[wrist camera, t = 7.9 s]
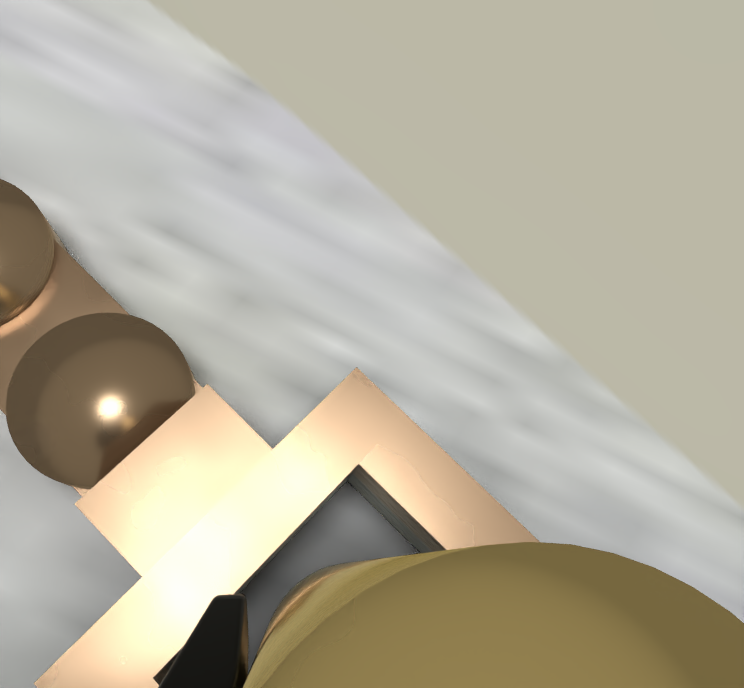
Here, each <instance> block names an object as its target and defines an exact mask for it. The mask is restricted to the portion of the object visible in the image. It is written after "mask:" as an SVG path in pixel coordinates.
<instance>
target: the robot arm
mask: <svg viewBox="0 0 744 688" xmlns="http://www.w3.org/2000/svg"><path fill="white" fill-rule="evenodd" d="M247 677H248V620H247V601H246V597H245V596H244V595H243V594H226V595H217V596H215V597H214V598H213V599H212V601H211V602H210V604H209V605H208V607H207V609H206V610H205V612H204V614H203V615H202V617H201V618H200V620H199V622H198V623H197V625H196V627H195V628H194V630H193V631H192V633H191V635H190V636H189V638H188V640H187V641H186V643H185V645H184V646H183V648H182V649H181V651H180V653H179V654H178V656H177V658H176V659H175V661H174V662H173V664H172V666H171V667H170V669H169V671H168V672H167V674H166V675H165V677H164V679H163V680H162V682H161V684H160V685H159V687H158V688H243V687H244V684H245V682H246V679H247Z"/></svg>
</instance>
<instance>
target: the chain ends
mask: <svg viewBox="0 0 744 688" xmlns="http://www.w3.org/2000/svg"><path fill="white" fill-rule="evenodd" d="M0 409H1V411H2V412H3V413H4V414H5V415H6V419H7V424H8V428H9V432H10V434H11V437H12V439H13V442H14V443H15V445H16V447H17V449H18V450H19V452H20V453H21V454H22V456H23V457H24V458H25V459H26V461H27V462H29V463H30V464H31V465H32V466H33V467H34V468H35V469H37V470H38V471H39V472H41V473H42V474H44V475H45V476H48V477H50V478H52V479H54V480H56V481H58V482H61V483H64V484H66V485H69V486H72V487H74V489H75V490H76V491H77V492H78V493H79V494H80V495H81V496H82V498H81V499H79V500H78V501H77V502H76V503H75V505H76V506H77V507H78V508H79V510H80V511H81V512H82V513H83V514H84V515H85V516H86V517H87V518H88V519H89V520H90V521H91V522H92V524H93V525H94V526H95V527H96V528H97V529H98V530H99V531H100V532H101V533H102V534H103V535H104V536H105V537H106V539H107V540H108V541H109V542H110V543H111V544H112V545H113V546H114V547H115V548H116V549H117V550H118V551H119V552H120V554H121V555H122V556H123V557H124V558H125V559H126V560H127V561H128V562H129V563H130V564H131V565H132V566H133V568H134V569H135V570H136V571H137V572H138V573H139V574H140V575H141V576H142V578H141V579H140V580H139V581H138V582H137V583H136V584H135V585H134V586H133V587H132V588H131V589H130V590H129V591H128V592H127V593H126V594H125V595H124V596H122V597H121V598H120V599H119V600H118V601H117V602H116V603H115V604H114V605H113V606H112V607H111V608H110V609H109V610H108V611H107V612H106V613H105V614H104V615H103V616H102V617H101V618H100V619H99V620H98V621H97V622H96V623H95V624H94V625H93V626H92V627H91V628H90V629H89V630H88V631H87V632H86V633H85V634H84V635H83V636H82V637H81V638H80V639H79V640H78V641H77V642H76V643H74V644H73V645H72V646H71V647H70V648H69V649H68V650H67V651H66V652H65V653H64V654H63V655H62V656H61V657H60V658H59V659H58V660H57V661H56V662H55V663H54V664H53V665H52V666H51V667H50V668H49V669H48V670H47V671H46V672H45V673H44V674H43V675H42V676H41V677H40V678H39V679H38V680H37V681H36V682H35V683H34V684H35V686H36V687H37V688H158V687H159V685H160V684H161V682H162V680H163V679H164V677H165V675H166V674H167V672H168V671H169V669H170V667H171V666H172V664H173V662H174V661H175V659H176V658H177V656H178V654H179V653H180V651H181V649H182V648H183V646H184V645H185V643H186V641H187V640H188V638H189V636H190V635H191V633H192V631H193V630H194V628H195V627H196V625H197V623H198V622H199V620H200V618H201V617H202V615H203V614H204V612H205V610H206V609H207V607H208V605H209V604H210V602H211V601H212V599H213V598H214V597H215V596H217V595H226V594H239V593H240V592H241V591H242V590H243V589H244V588H245V587H246V586H247V585H248V584H249V583H250V582H251V581H252V579H253V578H254V577H255V576H256V575H257V574H258V573H259V572H260V571H261V570H262V569H263V568H264V567H265V566H266V565H267V564H268V563H269V562H270V561H271V560H272V559H273V558H274V557H275V555H276V554H277V553H278V552H279V551H280V550H281V549H282V548H283V547H284V546H285V545H286V544H287V543H288V542H289V541H290V540H291V539H292V538H293V537H294V536H295V535H296V534H297V532H298V531H299V530H300V529H301V528H302V527H303V526H304V525H305V524H306V523H307V522H308V521H309V520H310V519H311V518H312V517H313V516H314V515H315V514H316V513H317V512H318V511H319V510H320V508H321V507H322V506H323V505H324V504H325V503H326V502H327V501H328V500H329V499H330V498H331V497H332V496H333V495H334V494H335V493H336V492H337V491H338V490H339V489H340V488H341V487H342V485H343V484H344V483H345V482H346V481H348V482H349V483H350V484H351V485H352V486H353V487H354V488H355V489H356V490H357V491H358V492H359V493H360V494H361V495H362V496H363V497H364V498H365V499H367V500H368V501H369V502H370V503H371V504H372V505H373V506H374V507H375V508H376V509H377V510H378V511H379V512H380V513H381V514H382V515H383V516H384V517H385V518H386V519H387V520H388V521H389V522H390V523H391V524H392V525H393V526H394V527H395V528H396V529H397V530H398V531H399V532H400V533H401V534H402V535H403V536H404V537H405V538H406V539H407V540H408V541H409V542H410V543H411V544H412V545H413V546H414V547H415V548H416V549H417V550H418V551H419V552H420V553H428V552H436V551H444V550H451V549H459V548H467V547H475V546H483V545H493V544H506V543H519V542H539V541H538V540H537V539H536V538H535V537H534V536H533V535H532V534H531V533H530V532H529V531H528V530H527V529H526V528H525V527H524V526H523V525H522V524H520V523H519V522H518V521H517V520H516V519H515V518H514V517H513V516H512V515H511V514H510V513H509V512H508V511H507V510H506V509H505V508H504V507H503V506H502V505H501V504H499V503H498V502H497V501H496V500H495V499H494V498H493V497H492V496H491V495H490V494H489V493H488V492H487V491H486V490H485V489H484V488H483V487H482V486H481V485H480V484H479V483H477V482H476V481H475V480H474V479H473V478H472V477H471V476H470V475H469V474H468V473H467V472H466V471H465V470H464V469H463V468H462V467H461V466H460V465H459V464H458V463H456V462H455V461H454V460H453V459H452V458H451V457H450V456H449V455H448V454H447V453H446V452H445V451H444V450H443V449H442V448H441V447H440V446H439V445H438V444H437V443H436V442H434V441H433V440H432V439H431V438H430V437H429V436H428V435H427V434H426V433H425V432H424V431H423V430H422V429H421V428H420V427H419V426H418V425H417V424H416V423H415V422H413V421H412V420H411V419H410V418H409V417H408V416H407V415H406V414H405V413H404V412H403V411H402V410H401V409H400V408H399V407H398V406H397V405H396V404H395V403H394V402H392V401H391V400H390V399H389V398H388V397H387V396H386V395H385V394H384V393H383V392H382V391H381V390H380V389H379V388H378V387H377V386H376V385H375V384H374V383H373V382H372V381H370V380H369V379H368V378H367V377H366V376H365V375H364V374H363V373H362V372H361V371H360V370H359V369H358V368H357V367H356V368H355V369H354V370H353V371H352V372H351V373H350V374H349V375H348V376H347V377H346V378H345V379H344V380H343V381H342V382H341V383H340V384H339V385H338V386H337V387H336V388H335V389H334V390H333V391H332V392H331V393H330V394H329V395H328V396H327V397H326V398H325V399H324V400H323V401H322V402H321V403H320V404H319V405H318V406H317V407H315V408H314V409H313V410H312V411H311V412H310V413H309V414H308V415H307V416H306V417H305V418H304V419H303V420H302V421H301V422H300V423H299V424H298V425H297V426H296V427H295V428H294V429H293V430H292V431H291V432H290V433H289V434H288V435H287V436H286V437H285V438H284V439H283V440H282V441H281V442H280V443H279V444H278V445H277V446H276V447H275V448H274V449H272V448H271V447H270V446H269V445H268V444H267V443H266V442H265V441H264V440H263V439H262V438H261V437H260V436H259V435H258V434H257V433H256V432H255V431H254V430H253V429H252V428H251V427H250V426H249V425H248V424H247V423H246V422H245V421H244V420H243V419H242V418H241V417H240V416H239V415H238V414H237V413H236V412H235V411H234V410H233V409H232V408H231V407H230V406H229V405H228V404H227V403H226V402H225V401H224V400H223V399H222V398H221V397H220V396H219V395H218V394H217V393H216V392H215V391H214V390H213V389H212V388H211V387H210V386H209V385H208V384H207V385H205V386H204V387H203V388H202V387H201V386H200V385H199V384H198V383H197V382H196V380H195V377H194V375H193V373H192V371H191V369H190V367H189V365H188V363H187V361H186V359H185V357H184V355H183V354H182V352H181V351H180V349H179V347H178V346H177V345H176V343H175V342H174V341H173V340H172V339H171V338H170V337H169V336H168V335H167V334H166V333H165V332H164V331H162V330H161V329H160V328H158V327H156V326H155V325H153V324H152V323H150V322H148V321H145V320H143V319H141V318H138V317H135V316H132V315H129V314H128V313H127V312H126V311H125V310H124V309H123V308H122V307H121V306H120V305H119V304H118V303H117V302H116V301H115V300H114V299H113V298H112V297H111V296H110V295H109V294H108V293H107V292H106V291H105V290H104V289H103V288H102V287H101V286H100V285H99V284H98V283H97V282H96V281H95V280H94V279H93V278H92V277H91V276H90V275H89V274H88V273H87V272H86V271H85V270H84V269H83V268H82V267H81V266H80V265H79V264H78V263H77V262H76V261H75V260H74V259H73V258H72V257H71V256H70V255H69V254H68V252H67V249H66V248H65V246H64V244H63V243H62V241H61V240H60V238H59V237H58V236H57V234H56V233H55V231H54V230H53V228H52V227H51V226H50V224H49V223H48V221H47V220H46V218H45V217H44V216H43V214H42V213H41V211H40V210H39V208H38V207H37V206H36V204H35V203H34V202H33V201H32V200H31V198H30V197H29V196H28V195H26V194H25V193H24V192H23V191H22V190H20V189H19V188H17V187H16V186H14V185H12V184H10V183H8V182H6V181H4V180H1V179H0Z"/></svg>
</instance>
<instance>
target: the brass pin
mask: <svg viewBox="0 0 744 688" xmlns="http://www.w3.org/2000/svg"><path fill="white" fill-rule="evenodd" d="M243 688H744V623H743V622H742V621H740V620H739V619H738V618H737V617H736V616H735V615H733V614H732V613H731V612H730V611H728V610H727V609H725V608H724V607H722V606H721V605H719V604H718V603H716V602H715V601H713V600H712V599H710V598H709V597H707V596H706V595H704V594H703V593H701V592H700V591H698V590H696V589H695V588H693V587H692V586H690V585H688V584H686V583H684V582H682V581H680V580H678V579H676V578H674V577H672V576H670V575H668V574H666V573H664V572H662V571H660V570H658V569H656V568H654V567H651V566H648V565H645V564H643V563H640V562H637V561H634V560H631V559H628V558H625V557H622V556H620V555H617V554H614V553H610V552H605V551H600V550H595V549H590V548H586V547H581V546H576V545H571V544H556V543H540V542H519V543H506V544H493V545H483V546H475V547H467V548H459V549H451V550H444V551H436V552H428V553H420V554H412V555H405V556H397V557H389V558H381V559H373V560H366V561H358V562H350V563H342V564H337V565H333V566H329V567H326V568H323V569H321V570H318V571H316V572H314V573H313V574H311V575H309V576H307V577H306V578H304V579H303V580H302V581H300V582H299V583H298V584H297V585H296V586H295V587H293V588H292V589H291V590H290V591H289V592H288V594H287V595H286V596H285V597H284V598H283V600H282V601H281V603H280V604H279V606H278V607H277V609H276V610H275V612H274V614H273V616H272V618H271V620H270V622H269V625H268V627H267V630H266V632H265V635H264V637H263V640H262V642H261V645H260V647H259V650H258V652H257V655H256V657H255V659H254V662H253V664H252V667H251V669H250V672H249V674H248V677H247V679H246V682H245V684H244V687H243Z"/></svg>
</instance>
